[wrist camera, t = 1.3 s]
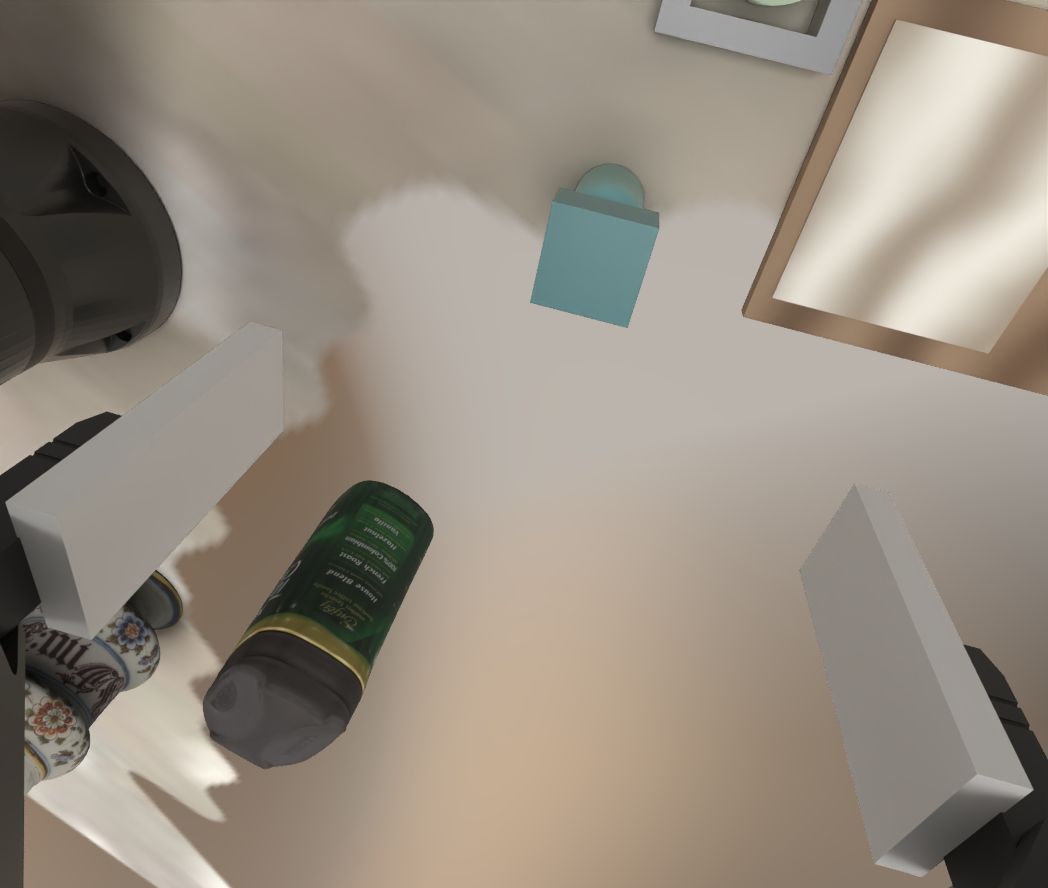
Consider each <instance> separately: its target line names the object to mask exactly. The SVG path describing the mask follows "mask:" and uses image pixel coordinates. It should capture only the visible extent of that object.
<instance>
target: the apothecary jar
mask: <svg viewBox="0 0 1048 888" xmlns="http://www.w3.org/2000/svg"><path fill="white" fill-rule="evenodd" d="M181 615H182V604H181V600H180V598H179V596H178V594H177V592H176V591H175V590H174V588H173V587H172V586H171V585H170V583H169V582H168V581H167V580H166V579H165V578H164V577H162V576H161V575H160V574H159V573H157V572H156V571H154V572H153V573H152V574H151V576H150V577H149V578H148V579H147V580H146V581H145V582H144V583H143V584H142V585H141V586H140V588H139V589H138V590H137V591H136V592H135V593H134V594H133V595H132V596H131V597H130V598H129V600H128V601H127V602H126V603H125V604H124V605H123V606H122V607H121V608H120V609H119V610H118V612H117V613H116V614H115V615H114V616H113V617H112V618H111V619H110V620H109V621H108V622H107V624H106V625H105V626H104V627H103V628H102V629H101V630H100V631H99V632H98V633H97V635H96V636H95V637H94V638H93V639H92V640H90V639H86V638H83V637H79V636H76V635H72V634H69V633H65V632H62V631H58V630H55V629H51V628H48V627H47V624H46V621H45V618H44V615H43V612H42V609H41V606H40V604H39V605H38V606H37V607H36V608H35V609H34V610H33V611H32V612H31V613H30V614H29V615H28V616H26V617H25V618H24V619H23V620H22V621H21V622H22V625H23V628H24V631H25V634H26V635H25V753H24V796H25V795H26V794H27V793H28V792H29V791H30V790H31V788H32V787H33V786H35V785H36V784H38V783H39V782H40V781H43V780H49V779H54V778H57V777H60V776H62V775H65V774H67V773H68V772H70V771H72V770H73V769H74V768H76V767H77V766H78V765H79V764H80V763H81V762H82V760H83V759H84V757H85V756H86V754H87V752H88V749H89V747H90V733H89V727H90V726H91V725H92V724H93V722H94V721H95V720H96V719H97V717H98V716H99V715H100V714H101V713H102V712H103V710H104V709H105V708H106V707H107V706H108V704H109V703H110V702H111V701H112V700H113V699H114V698H115V697H116V696H117V694H118V693H119V692H123V691H127V690H130V689H133V688H135V687H138V686H139V685H141V684H143V683H144V682H146V681H147V680H148V679H149V678H150V677H151V676H152V675H153V674H154V672H155V670H156V668H157V666H158V663H159V660H160V647H159V643H158V639H157V636H156V633H155V631H154V630H157V629H164V628H167V627H170V626H172V625H174V624H176V623H177V622H178V621H179V619H180V618H181Z"/></svg>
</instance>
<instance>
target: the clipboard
mask: <svg viewBox="0 0 1048 888" xmlns="http://www.w3.org/2000/svg"><path fill="white" fill-rule="evenodd" d="M742 314H743V317H746V318H750V319H753V320H757V321H761V322H765V323H769V324H773V325H777V326H781V327H784V328H789V329H792V330H796V331H800V332H804V333H808V334H811V335H815V336H819V337H823V338H827V339H831V340H835V341H839V342H843V343H847V344H850V345H854V346H858V347H862V348H866V349H870V350H873V351H877V352H881V353H885V354H889V355H893V356H897V357H900V358H905V359H908V360H912V361H916V362H920V363H924V364H927V365H931V366H935V367H939V368H943V369H947V370H951V371H954V372H958V373H962V374H966V375H970V376H974V377H978V378H981V379H986V380H989V381H993V382H997V383H1001V384H1005V385H1009V386H1013V387H1017V388H1020V389H1024V390H1028V391H1032V392H1036V393H1040V394H1043V395H1047V396H1048V10H1043V9H1039V8H1035V7H1031V6H1027V5H1023V4H1019V3H1015V2H1010V1H1006V0H872V2H871V4H870V7H869V9H868V11H867V14H866V16H865V19H864V21H863V23H862V26H861V28H860V30H859V33H858V35H857V38H856V40H855V42H854V45H853V47H852V49H851V52H850V54H849V56H848V59H847V61H846V64H845V66H844V68H843V71H842V73H841V75H840V78H839V80H838V83H837V85H836V87H835V90H834V92H833V94H832V97H831V99H830V102H829V104H828V106H827V109H826V111H825V113H824V116H823V118H822V120H821V123H820V125H819V128H818V130H817V132H816V135H815V137H814V139H813V142H812V144H811V147H810V149H809V151H808V154H807V156H806V158H805V161H804V163H803V166H802V168H801V170H800V173H799V175H798V177H797V180H796V182H795V184H794V187H793V189H792V192H791V194H790V196H789V199H788V201H787V203H786V206H785V208H784V211H783V213H782V215H781V218H780V220H779V222H778V225H777V227H776V229H775V232H774V235H773V237H772V239H771V241H770V244H769V246H768V249H767V251H766V253H765V256H764V258H763V260H762V263H761V265H760V267H759V270H758V272H757V275H756V277H755V279H754V282H753V284H752V287H751V289H750V291H749V294H748V296H747V298H746V301H745V303H744V305H743V308H742Z"/></svg>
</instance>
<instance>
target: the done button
mask: <svg viewBox="0 0 1048 888" xmlns="http://www.w3.org/2000/svg"><path fill="white" fill-rule="evenodd" d="M746 1H748V2H750V3H753V4H756V5H760V6H778V5H786V4H792V3H795V2H798V1H801V0H746Z"/></svg>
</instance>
